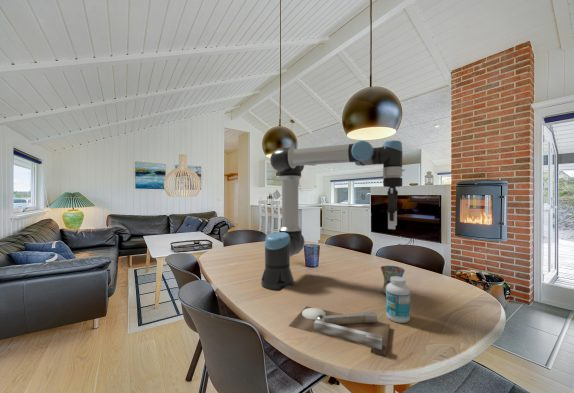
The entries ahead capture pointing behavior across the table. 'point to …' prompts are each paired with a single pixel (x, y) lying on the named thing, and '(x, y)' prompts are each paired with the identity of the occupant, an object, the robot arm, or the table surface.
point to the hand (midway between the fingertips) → (392, 227)
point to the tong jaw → (349, 318)
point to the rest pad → (312, 313)
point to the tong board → (356, 326)
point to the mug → (390, 274)
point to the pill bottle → (398, 300)
